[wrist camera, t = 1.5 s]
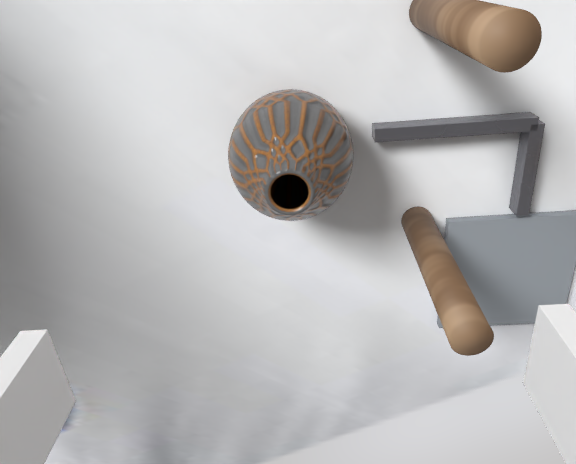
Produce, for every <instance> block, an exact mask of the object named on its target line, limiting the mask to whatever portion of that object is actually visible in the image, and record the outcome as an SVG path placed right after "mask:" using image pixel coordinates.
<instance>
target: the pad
mask: <svg viewBox="0 0 576 464" xmlns="http://www.w3.org/2000/svg"><path fill="white" fill-rule="evenodd" d="M444 240H445V242H446V244H447V246H448V248H449V250H450V252H451V254H452V256H453V257H454V259H455V261H456V263H457V265H458V267H459V269H460V271H461V272H462V274H463V276H464V278H465V280H466V282H467V284H468V286H469V288H470V289H471V291H472V293H473V295H474V297H475V299H476V301H477V303H478V304H479V306H480V308H481V310H482V312H483V314H484V316H485V318H486V320H487V321H488V323H489V325H490V326H491V325H510V324H530V323H535V320H536V316H537V311H538V306H539V305H554V304H566V303H567V299H568V294H569V290H570V286H571V282H572V278H573V274H574V270H575V265H576V210H572V211H556V212H539V213H529V215H522V216H516V215H515V214H507V215H490V216H474V217H458V218H446V227H445V239H444ZM437 324H438V326H439V328H443V326H442V323H441V321H440V318H439V316H438V320H437Z"/></svg>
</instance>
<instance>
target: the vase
mask: <svg viewBox="0 0 576 464" xmlns="http://www.w3.org/2000/svg"><path fill="white" fill-rule="evenodd" d="M228 160H229V168H230V172H231V176H232V178H233V181H234V183H235V185H236V187H237V189H238V191H239V192H240V194H241V195H242V197H243V198H244V199H245V200H246V201H247V202H248V203H249V204H250V205H251V206H252V207H253V208H255V209H256V210H257V211H259V212H261V213H262V214H264V215H266V216H269V217H272V218H275V219H279V220H287V221H294V220H302V219H306V218H310V217H312V216H315V215H317V214H319V213H321V212H322V211H324V210H325V209H327V208H328V207H329V206H330V205H332V204H333V203H334V202H335V201H336V199H337V198H338V197H339V196H340V194H341V193H342V191H343V190H344V188H345V186H346V184H347V182H348V180H349V177H350V174H351V170H352V165H353V145H352V140H351V136H350V133H349V130H348V128H347V126H346V124H345V122H344V120H343V118H342V117H341V115H340V114H339V113H338V111H337V110H336V109H335V108H334V107H333V106H332V105H331V104H330V103H328V102H327V101H326V100H324V99H323V98H321V97H319V96H317V95H315V94H312V93H310V92H306V91H302V90H293V89H291V90H280V91H276V92H272V93H269V94H267V95H265V96H263V97H261V98H259V99H258V100H256V101H255V102H253V103H252V104H251V105H250V106H249V107H248V108H247V109H246V110H245V111H244V113H243V114H242V115H241V117H240V118H239V120H238V121H237V123H236V125H235V127H234V129H233V132H232V135H231V139H230V143H229V150H228Z"/></svg>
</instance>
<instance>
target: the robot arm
mask: <svg viewBox="0 0 576 464" xmlns="http://www.w3.org/2000/svg"><path fill="white" fill-rule="evenodd" d="M523 384H524V386H525V388H526V390H527V392H528V394H529V396H530V397H531V399H532V401H533V403H534V405H535V407H536V408H537V410H538V413H539V414H540V416H541V418H542V420H543V422H544V424H545V425H546V428H547V429H548V431H549V433H550V435H551V437H552V439H553V441H554V443H555V444H556V446H557V448H558V450H559V452H560V454H561V456H562V458H563V459H564V461H565V463H566V464H576V312H575V311H574V309H573V308H572V307H571V306H570V304H554V305H539V306H538V311H537V316H536V320H535V325H534V330H533V335H532V340H531V345H530V350H529V355H528V360H527V364H526V369H525V374H524V379H523ZM75 402H76V400H75V397H74V395H73V392H72V390H71V387H70V385H69V382H68V379H67V377H66V374H65V372H64V369H63V367H62V364H61V362H60V359H59V357H58V354H57V352H56V349H55V347H54V344H53V342H52V339H51V337H50V334H49V332H48V329H47V330H27V331H20V332H19V333H18V335H17V336H16V337H15V339H14V340H13V341H12V343H11V344H10V345H9V347H8V348H7V349H6V351H5V352H4V353H3V354H2V356H1V357H0V464H44V463H45V461H46V459H47V457H48V455H49V453H50V451H51V449H52V447H53V445H54V443H55V441H56V439H57V437H58V436H59V434H60V432H61V430H62V428H63V426H64V424H65V422H66V420H67V418H68V416H69V414H70V412H71V410H72V408H73V406H74V404H75Z"/></svg>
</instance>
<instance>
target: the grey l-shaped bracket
mask: <svg viewBox="0 0 576 464" xmlns="http://www.w3.org/2000/svg"><path fill="white" fill-rule="evenodd" d="M544 127H545V123H543V122H542V121H540V120H539V117H538V116H536V115H534V114H533V113H531V112H524V113H510V114H496V115H482V116H468V117H454V118H440V119H426V120H412V121H399V122H385V123H372V137H373V139H374V141H375V142H385V141H399V140H414V139H428V138H442V137H457V136H471V135H486V134H500V133H514V132H521V134H520V141H519V147H518V154H517V160H516V167H515V173H514V180H513V186H512V193H511V199H510V206H509V208H510V209H511V210H512V212H513V213H514V214H515V215H516V216H522V215H529V212H530V206H531V201H532V195H533V189H534V183H535V178H536V172H537V166H538V161H539V155H540V149H541V144H542V138H543V132H544Z"/></svg>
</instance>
